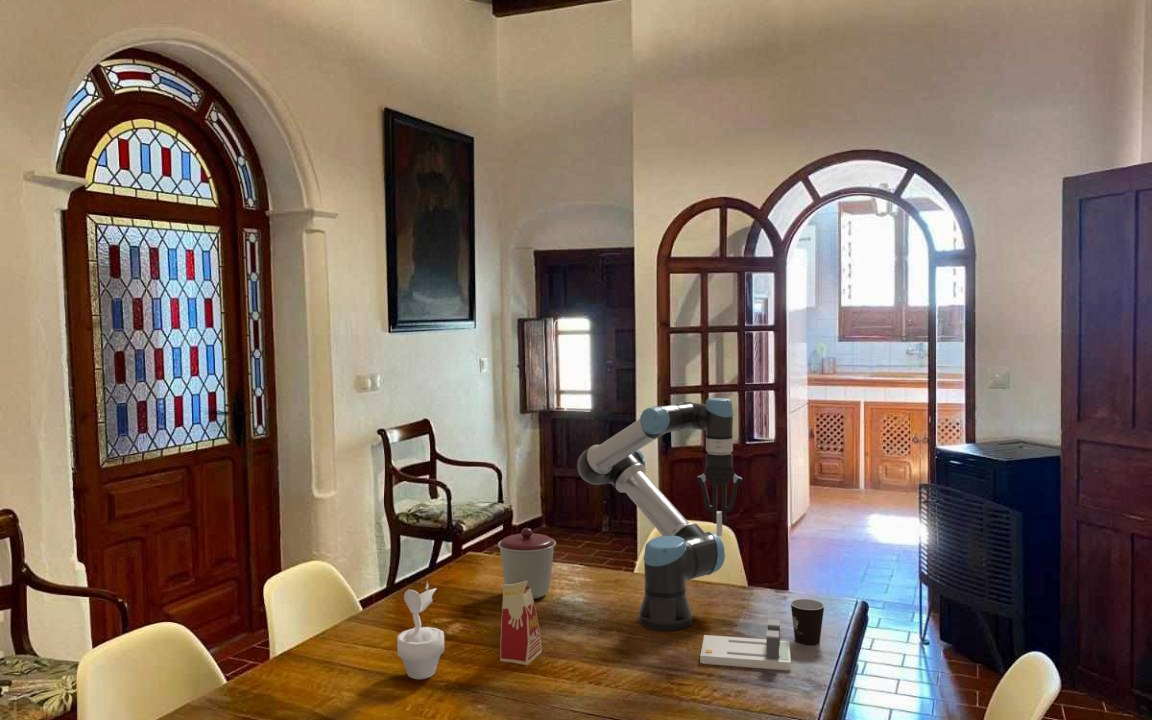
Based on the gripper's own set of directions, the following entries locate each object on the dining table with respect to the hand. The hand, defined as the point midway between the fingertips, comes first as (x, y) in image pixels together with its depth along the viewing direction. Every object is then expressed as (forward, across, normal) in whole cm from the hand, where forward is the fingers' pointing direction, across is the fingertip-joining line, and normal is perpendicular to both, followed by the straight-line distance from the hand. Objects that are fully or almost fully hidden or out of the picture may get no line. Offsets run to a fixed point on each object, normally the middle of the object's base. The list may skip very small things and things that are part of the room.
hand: (719, 534), depth 244 cm
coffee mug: (+25, +24, -11) cm, 36 cm away
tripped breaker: (+22, +15, -30) cm, 40 cm away
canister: (+25, -60, +10) cm, 66 cm away
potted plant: (+25, -69, -52) cm, 90 cm away
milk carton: (+25, -49, -37) cm, 66 cm away
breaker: (+22, +15, -22) cm, 34 cm away
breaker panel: (+24, +8, -26) cm, 36 cm away
